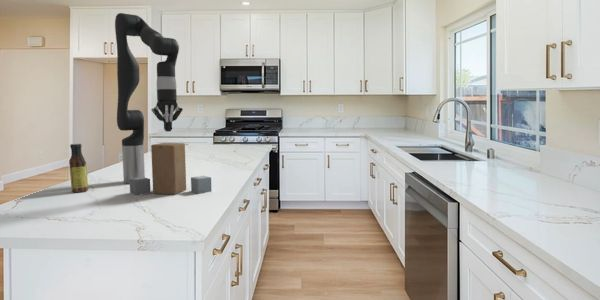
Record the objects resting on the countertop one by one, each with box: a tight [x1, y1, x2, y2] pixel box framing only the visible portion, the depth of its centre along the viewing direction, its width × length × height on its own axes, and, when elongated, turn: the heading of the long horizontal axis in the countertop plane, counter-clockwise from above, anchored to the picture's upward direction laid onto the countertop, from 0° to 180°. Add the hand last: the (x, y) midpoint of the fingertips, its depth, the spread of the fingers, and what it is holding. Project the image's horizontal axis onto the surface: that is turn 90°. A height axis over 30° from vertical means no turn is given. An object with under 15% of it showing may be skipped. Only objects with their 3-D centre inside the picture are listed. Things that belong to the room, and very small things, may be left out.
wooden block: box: [150, 142, 187, 196], centre depth 175 cm, size 10×10×20 cm
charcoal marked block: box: [129, 176, 151, 196], centre depth 174 cm, size 6×6×6 cm
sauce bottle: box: [68, 143, 89, 193], centre depth 177 cm, size 6×6×20 cm
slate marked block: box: [190, 175, 212, 194], centre depth 177 cm, size 6×6×6 cm
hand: (168, 131), depth 173 cm, fingers closed
